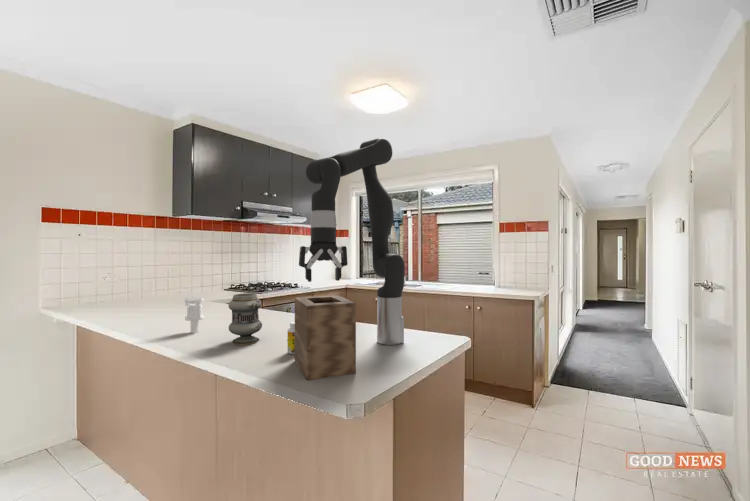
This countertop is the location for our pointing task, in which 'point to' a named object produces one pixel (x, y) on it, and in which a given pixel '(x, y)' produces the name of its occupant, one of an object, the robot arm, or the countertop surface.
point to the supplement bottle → (291, 338)
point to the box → (325, 336)
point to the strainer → (194, 312)
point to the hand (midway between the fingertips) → (323, 280)
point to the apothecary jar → (245, 318)
